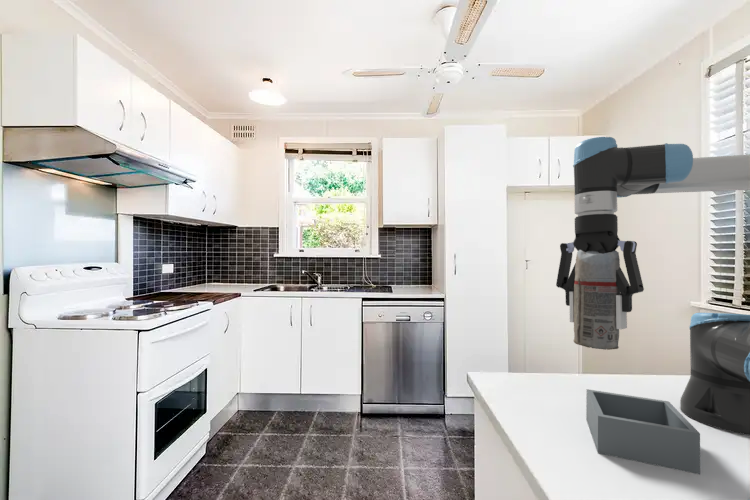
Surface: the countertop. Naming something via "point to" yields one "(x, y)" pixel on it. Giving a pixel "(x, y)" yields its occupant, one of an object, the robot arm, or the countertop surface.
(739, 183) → the robot arm
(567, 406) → the countertop surface
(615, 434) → the bin
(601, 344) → the white paper tall sack
